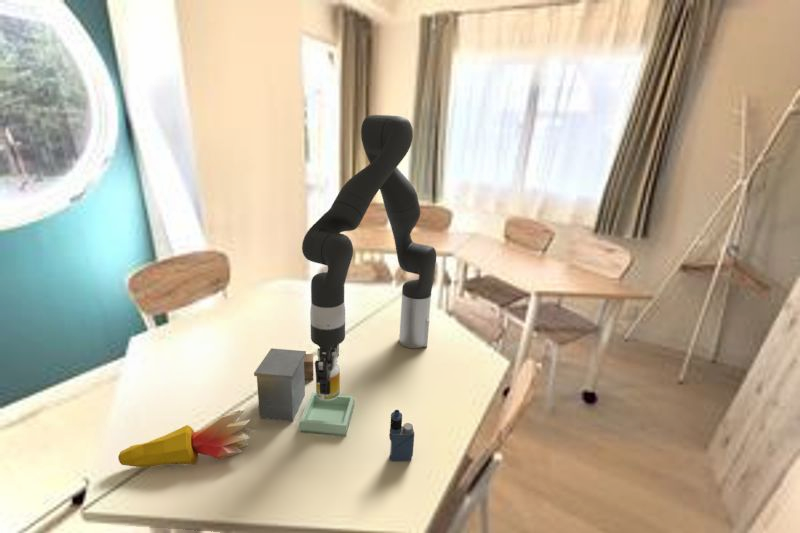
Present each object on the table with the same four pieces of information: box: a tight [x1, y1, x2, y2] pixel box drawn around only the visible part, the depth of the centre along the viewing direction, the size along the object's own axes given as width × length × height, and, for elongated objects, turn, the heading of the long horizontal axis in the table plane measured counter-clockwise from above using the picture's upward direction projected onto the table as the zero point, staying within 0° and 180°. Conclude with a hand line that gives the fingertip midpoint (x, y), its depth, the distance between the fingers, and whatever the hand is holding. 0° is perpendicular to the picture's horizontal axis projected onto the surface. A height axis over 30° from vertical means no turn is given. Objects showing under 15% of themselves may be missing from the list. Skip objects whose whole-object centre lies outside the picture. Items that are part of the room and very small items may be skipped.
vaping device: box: [388, 409, 415, 462], centre depth 86 cm, size 3×5×12 cm, turn 95°
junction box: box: [253, 348, 307, 422], centre depth 100 cm, size 9×11×13 cm
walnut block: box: [304, 353, 314, 382], centre depth 113 cm, size 4×4×6 cm
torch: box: [117, 409, 256, 468], centre depth 84 cm, size 8×8×25 cm
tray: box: [299, 392, 355, 437], centre depth 98 cm, size 11×11×3 cm
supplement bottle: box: [315, 356, 341, 401], centre depth 95 cm, size 5×5×10 cm
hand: (328, 385), depth 95 cm, fingers closed on supplement bottle, 5 cm apart
